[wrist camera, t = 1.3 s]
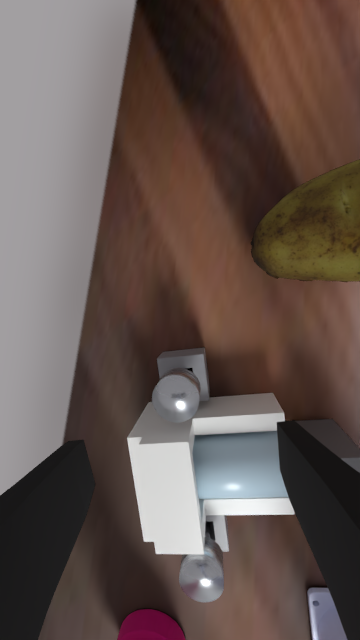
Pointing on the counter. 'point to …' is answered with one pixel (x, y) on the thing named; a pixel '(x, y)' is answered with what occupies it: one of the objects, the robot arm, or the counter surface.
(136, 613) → the pepper mill
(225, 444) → the cartridge
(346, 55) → the counter surface
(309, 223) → the potato
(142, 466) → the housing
